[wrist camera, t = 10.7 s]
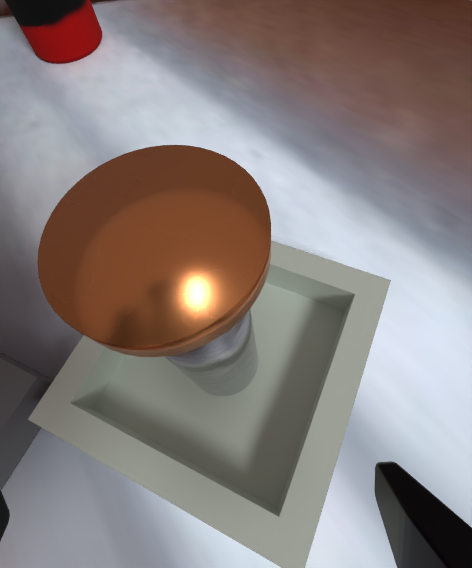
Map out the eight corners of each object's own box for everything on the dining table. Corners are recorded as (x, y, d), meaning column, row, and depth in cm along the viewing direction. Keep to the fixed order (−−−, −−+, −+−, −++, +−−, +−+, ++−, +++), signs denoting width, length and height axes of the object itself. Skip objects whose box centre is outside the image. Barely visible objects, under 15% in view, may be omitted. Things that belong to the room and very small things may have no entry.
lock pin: (292, 367, 19) (322, 238, 8) (213, 434, 18) (106, 404, 7) (232, 297, 21) (183, 115, 10) (157, 353, 20) (4, 223, 9)
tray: (372, 305, 22) (390, 280, 19) (294, 555, 16) (301, 579, 13) (180, 237, 25) (168, 206, 22) (65, 425, 20) (27, 419, 17)
